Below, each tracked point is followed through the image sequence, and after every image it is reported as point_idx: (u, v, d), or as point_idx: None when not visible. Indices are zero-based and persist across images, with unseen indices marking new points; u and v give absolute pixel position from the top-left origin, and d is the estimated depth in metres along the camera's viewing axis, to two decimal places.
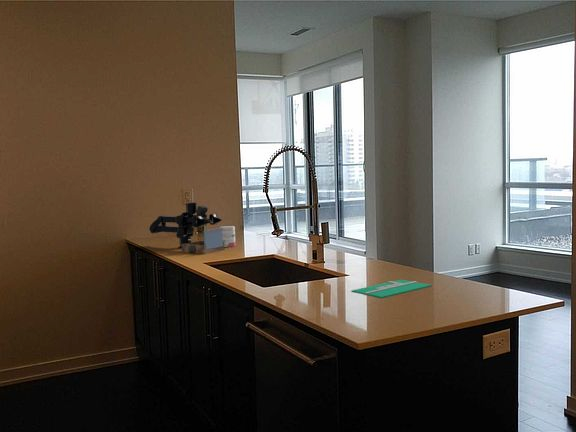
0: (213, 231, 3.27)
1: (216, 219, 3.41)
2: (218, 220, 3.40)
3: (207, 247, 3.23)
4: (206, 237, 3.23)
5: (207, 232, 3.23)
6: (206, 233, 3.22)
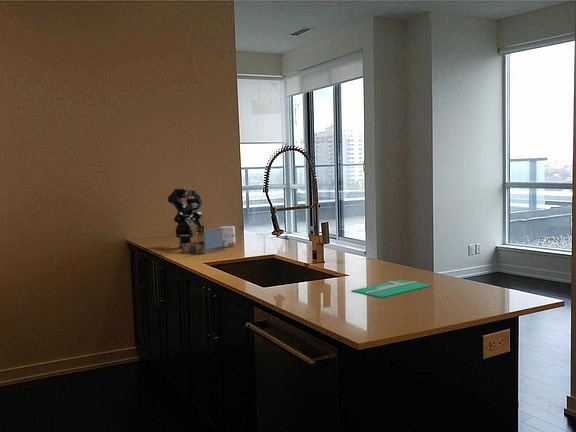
0: (213, 231, 3.27)
1: (198, 222, 3.41)
2: (199, 225, 3.40)
3: (207, 247, 3.23)
4: (206, 237, 3.23)
5: (207, 232, 3.23)
6: (206, 233, 3.22)
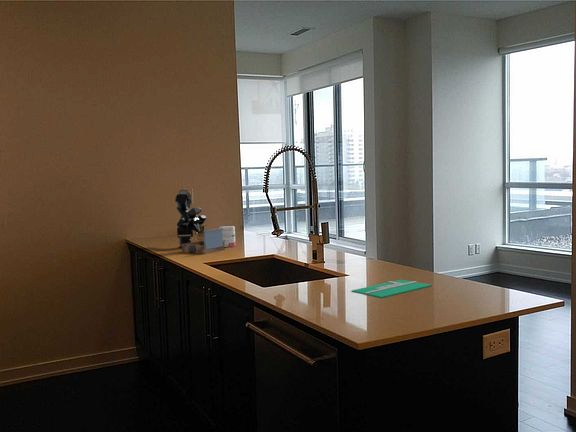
0: (213, 231, 3.27)
1: None
2: None
3: (207, 247, 3.23)
4: (206, 237, 3.23)
5: (207, 232, 3.23)
6: (206, 233, 3.22)
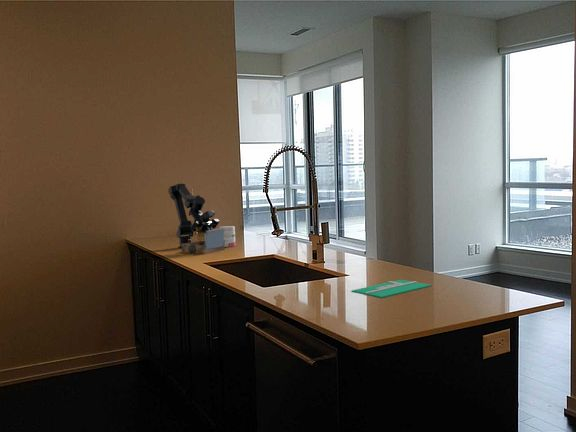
0: (215, 231, 3.26)
1: None
2: None
3: (207, 247, 3.23)
4: (207, 237, 3.22)
5: (209, 232, 3.22)
6: (208, 233, 3.22)
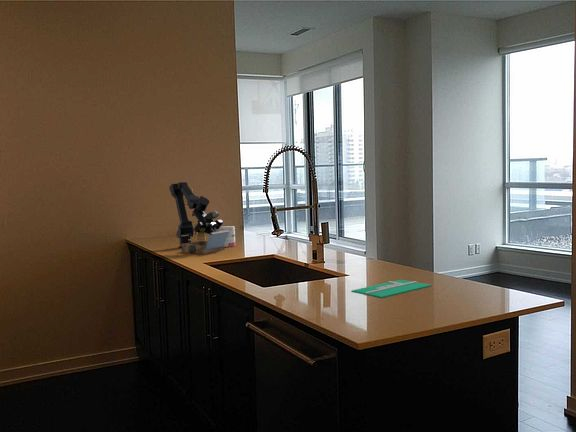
0: (220, 234, 3.24)
1: (213, 231, 3.28)
2: None
3: (208, 247, 3.23)
4: (211, 239, 3.21)
5: (214, 235, 3.20)
6: (212, 236, 3.20)
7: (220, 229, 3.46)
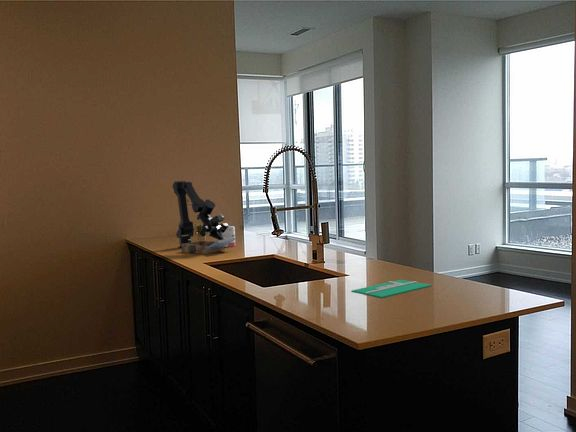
0: (225, 242, 3.22)
1: None
2: None
3: (209, 248, 3.23)
4: (215, 245, 3.19)
5: (219, 243, 3.19)
6: (218, 243, 3.18)
7: None
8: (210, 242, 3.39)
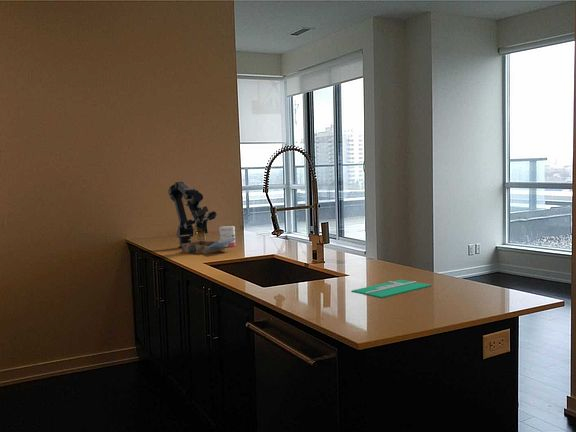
0: (225, 242, 3.22)
1: (204, 226, 3.31)
2: None
3: (209, 248, 3.23)
4: (215, 245, 3.19)
5: (219, 243, 3.19)
6: (218, 243, 3.18)
7: (220, 229, 3.46)
8: (210, 242, 3.39)
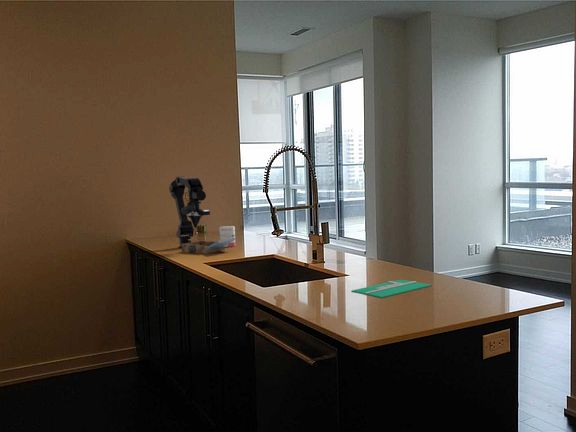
0: (225, 242, 3.22)
1: None
2: None
3: (209, 248, 3.23)
4: (215, 245, 3.19)
5: (219, 243, 3.19)
6: (218, 243, 3.18)
7: (220, 229, 3.46)
8: (210, 242, 3.39)
